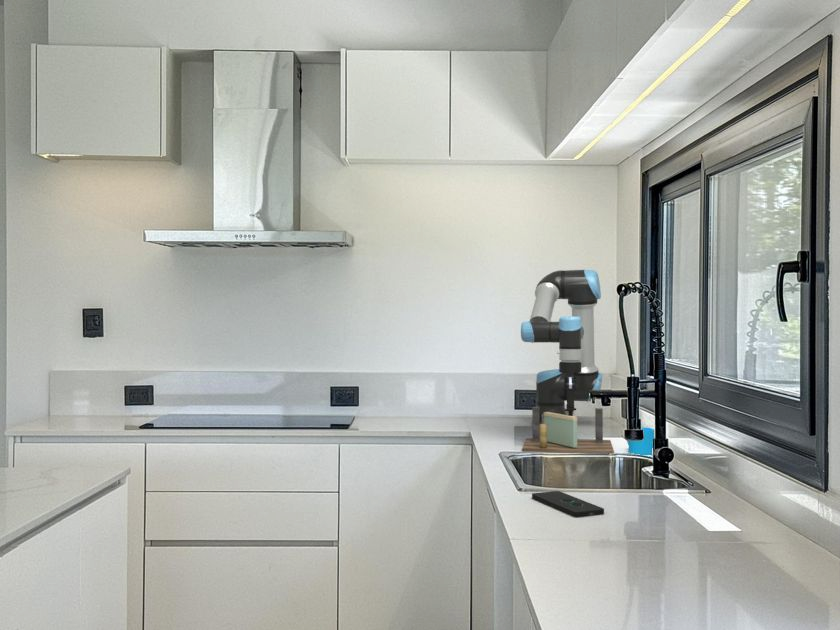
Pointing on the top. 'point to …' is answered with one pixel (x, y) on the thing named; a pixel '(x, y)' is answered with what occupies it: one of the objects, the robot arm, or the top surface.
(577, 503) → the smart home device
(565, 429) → the bar
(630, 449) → the mug
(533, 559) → the top surface
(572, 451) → the gate frame
